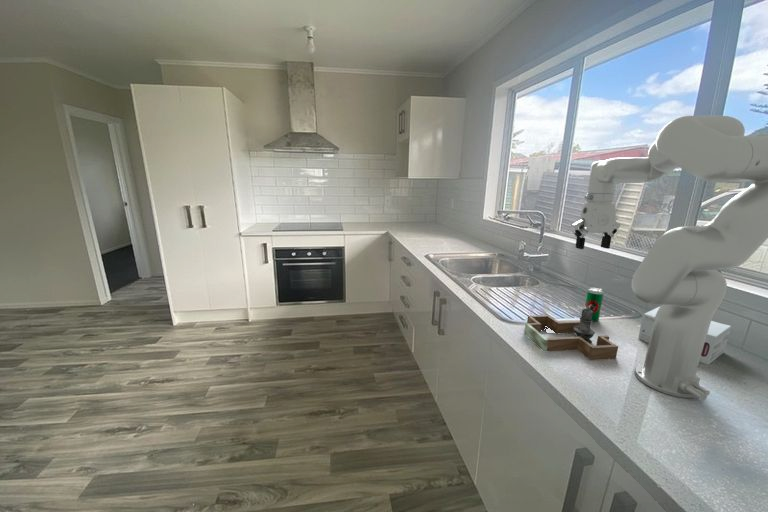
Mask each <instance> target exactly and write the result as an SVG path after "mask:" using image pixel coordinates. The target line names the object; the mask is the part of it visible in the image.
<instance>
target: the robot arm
mask: <svg viewBox="0 0 768 512" xmlns="http://www.w3.org/2000/svg"><path fill="white" fill-rule="evenodd" d="M745 131H746V130H745V126H744V124H743V123H742V122H741V120H739V119H737V118H735V117H733V116H729V115H686V116H681V117H678V118H677V117H676V118H675V119H673V120H671V121H670V122H668V123H667V124H666V125H664V126H663V127H662V129H660V130H659V132H658V135H657V136H656V138H655V139H656V140H655V141H654V142H653V143H652V144H651V145H650V147H649V149H648V153H647V157H613V158H609V159H605V160H598V161H594V162H593V163H592V164H591V167H590V173H589V178H588V179H589V180H588V188H587V194H586V195H584V200H586V202H584V203H583V207H582V210H581V213H580V216H579V220H578V221H575V222H574V223H572V224H571V226H570V227H571V230H572V233H573V234H574V236H575V237H576V239H575V248H576V249H579V250H584V249H585V243H586V238H585V236H586V235H587V234H588V233H591V234H594V233H595V234H597V233H598V234H601V233H602V234H603V235H602V237H601V243H600V247H601V248H603V249H610V248H611V242H612V238H614V235H615V234H616V233H617V232H618V230H619V228H620V227H621V223H619V222H617V221H616V217H617V216H616V215H617V207H616V203H615V202H614V199H615V193H616V192H615V191H616V186H617V184H641V183H648V182H652V181H654V180H659V179H661V178H665V177H667V176H669V175H670V174H671V173H673V172H674V171H675V170H676V169H678V168H680V169H682V170H684V171H685V172H687V173H688V174H690V175H692V176H694V177H695V178H698V179H699V180H701V181H703V180H704V181H707V182H713V183H715V182H716V183H717V182H718V183H725V182H726V183H729V182H730V183H736V182H737V183H739V182H741V183H745V182H747V183H748V182H751V185H750V186H748V187H747V188H746V189H744V190H742V191H741V192H739V193H738V194H736V195H734V197H731V199H729V200H728V201H727V202H726V203H725V204H724V205H722V207H721V208H720V210H719V211H718V213H717V214H716V215H715V216H714V217H713V218H712V219H711V221H709V222H708V223H707V224H705V225H704V224H703V225H700V226H699V225H694V226H693V225H690V226H689V225H688V226H678V227H674V228H671V229H669V230H668V231H666V232H664V233H663V234H662V235H660V236H659V237H658V239H656V241H655V242H654V244H653V245H652V246H651V247H650V249H649V251H648V252H647V254H646V255H645V256H644V258H643V260H642V261H641V262H640V264H639V266H638V268H636V270H635V272H634V274H633V277H632V279H631V290H632V293H633V295H634V296H635V297H636V298H637V299H638V300H639V301H641V302H643V303H645V304H649V305H660V306H659V307H660V308H659V309H658V311H657V313H656V316H655V320H654V324H653V328H652V332H651V337H650V341H649V343H648V347H647V350H646V353H645V358H644V363H642V364H638V365H636V366H635V367H634V375H635V376H636V377H637V379H639V381H641V382H642V383H643V384H645V385H647V387H650V388H652V389H653V390H656V391H658V392H661V393H663V394H666V395H669V396H673V397H677V398H684V399H693V398H696V399H698V400H699V401H700V402H704V401H706V399H707V398H708V396H709V395H710V393H711V392H710V390H708V389H707V388H705V387H703V386H701V385H700V381H701V377H699V376H698V375H696V374H697V372H698V368H699V363H700V362H699V361H700V357H701V354H702V350H703V347H704V343H705V340H706V336H707V333H708V330H709V326H710V323H711V321H713V320H712V319H713V317H714V315H715V314H716V311H717V310H718V308H719V306H720V305H721V304H722V302H723V299H724V298H725V295H726V293H727V287H728V283H727V281H726V278H725V277H724V275H723V274H722V273H721V272H720V271H719V270H722V271H724V270H731V269H736V268H738V267H740V266H742V265H743V264H744V263H746V262H747V261H748V260H749V259H750V258H751V256H753V255H754V253H756V251H757V250H758V249H759V248H760V247H761V246H762V245H763V244H764V243H765V242H766V241H767V240H768V135H745Z"/></svg>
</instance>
